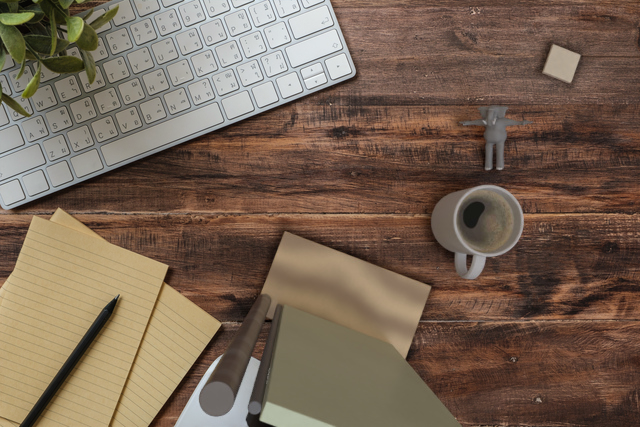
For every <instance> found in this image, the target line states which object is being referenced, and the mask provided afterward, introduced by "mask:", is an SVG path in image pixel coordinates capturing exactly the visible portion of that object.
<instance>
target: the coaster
mask: <svg viewBox="0 0 640 427" xmlns="http://www.w3.org/2000/svg"><path fill="white" fill-rule="evenodd" d="M581 56H582V55H581V54H579V53H577V52H575V51H572V50H569V49H567V48H564V47H562V46H559V45H556V44H554V43H553V44H551V46H550V48H549V51H548V54H547V57H546V60H545V62H544V65H543V68H542V70H541V74H543V75H546V76H549V77H551V78H553V79H556V80H559V81H560V82H564V83H566V84H571V83H572V81H573V79H574V76H575V73H576V71H577V67H578V65H579V61H580V59H581Z"/></svg>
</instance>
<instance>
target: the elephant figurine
mask: <svg viewBox="0 0 640 427" xmlns="http://www.w3.org/2000/svg"><path fill="white" fill-rule="evenodd" d="M509 108H510V107H509V106H507V105H498V104H492V105H489V106H483V105H481V106H479V107H478V108H477V110H478V111H479V113H480V117H481V118H477V119H474V120H469V119H467V120H463V121H459V122H458V123H459V125H460V124H462V126H477V127H478V126H479V127H480V126H481V127H484V128H485V130H484V132H483V139H484V141H485V146H484V148H485V150H484V151H485V160H484V170H485V171H490V170H493V168H494V167H493V166H494V165H493V159H494V146H495V151H496V152H495V154H496V155H495V156H496V157H495V158H496V159H495V160H496V161H495V162H496V164H495V167H496V170H497V171H501V170H503V169H505V158H504V157H505V156H504V155H505V152H504V151H505V142H506V140H507V138H508V132H507V128H506V127H512V126H525V125H528V124H530V125H531V124H533V123H534V121H533V120H527V119H523V120H516V119H512V118H507V117H506V116H505V115H506V112H507V110H509Z"/></svg>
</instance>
